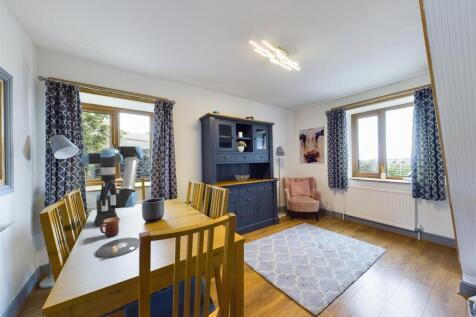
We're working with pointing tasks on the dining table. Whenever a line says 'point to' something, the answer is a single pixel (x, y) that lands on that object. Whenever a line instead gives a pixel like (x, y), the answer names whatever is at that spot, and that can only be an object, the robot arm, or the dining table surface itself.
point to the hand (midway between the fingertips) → (109, 207)
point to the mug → (110, 227)
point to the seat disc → (118, 247)
